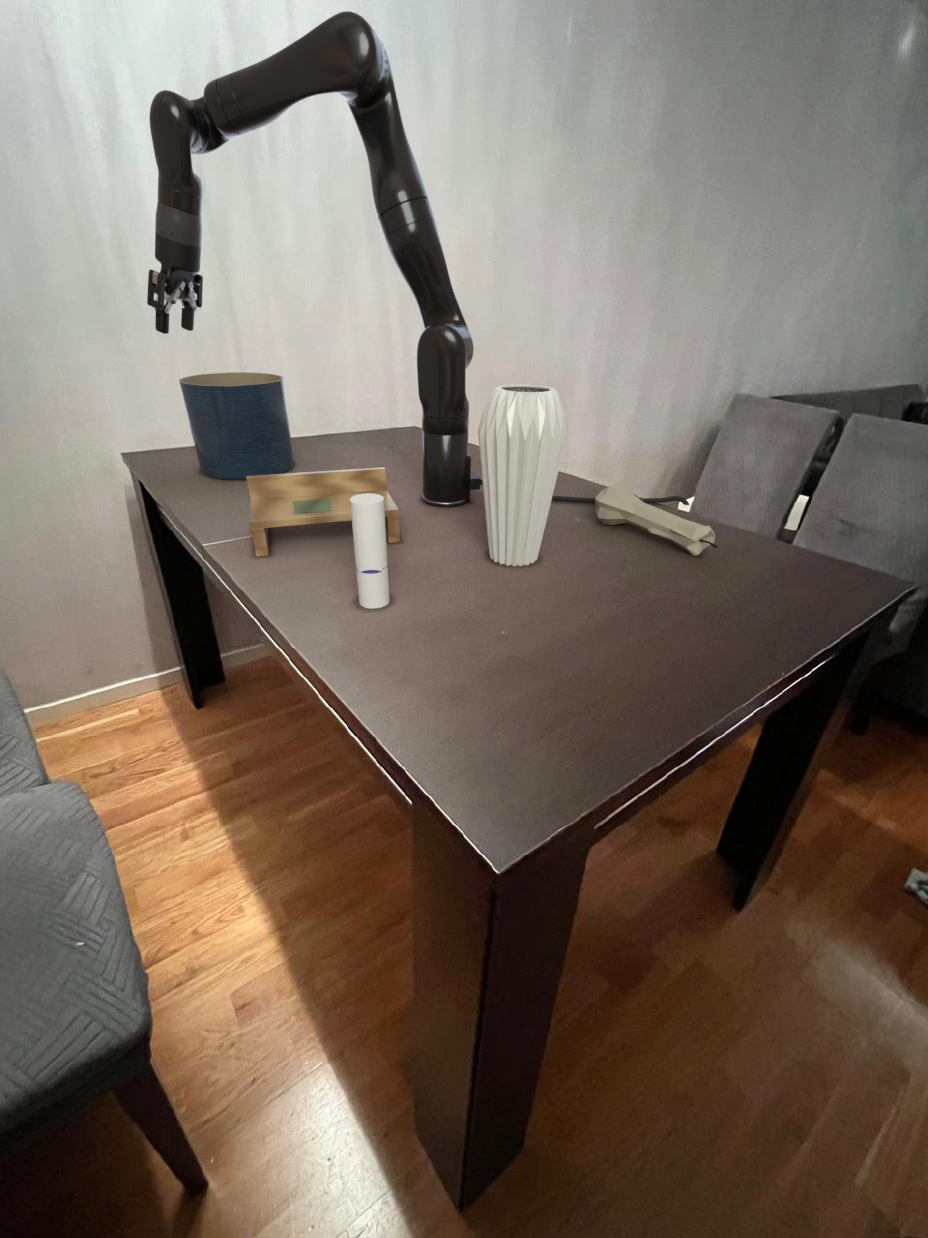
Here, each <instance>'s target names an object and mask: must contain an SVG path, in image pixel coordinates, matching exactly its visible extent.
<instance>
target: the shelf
mask: <svg viewBox="0 0 928 1238" xmlns="http://www.w3.org/2000/svg"><path fill="white" fill-rule="evenodd" d="M386 471H387V469H386V468H385V466H381V467H379V466H378V467H365V468H364V467H363V468H351V469H335V470H319V471H318V470H317V471H303V472H301V471H300V472H287V473H286V472H284V473H281V474H270V475H254V476H247V477H246V483H247V489H248V494H249V500H250V502H249V503H250V504H249V505H250V507H249V509H250V510H249V527H250V531H251V537H252V541H253V547H254V552H255V557H257V558H259V557H267V556H270V552H269V551H270V545H269V543H270V542H269V529H270V528H280V527H291V526H303V525H315V524H324V523H325V524H326V523H335V522H347V521H348V522H349V521H352V517H351V506H350V498H351V497H352V496H355V495H358V494H365V493H371V494H378V495H381V496H383V497H384V511H385V529H386V541H387V542H388V544H394V543H401V532H400V531H401V529H400V509H399V508H398V506H397V504H396V503H395V501H394V499H393V498H392V496H391V494H390V493H389V492H388V488H387V486H388V485H387V472H386Z"/></svg>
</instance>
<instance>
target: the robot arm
mask: <svg viewBox="0 0 928 1238" xmlns="http://www.w3.org/2000/svg"><path fill="white" fill-rule="evenodd" d="M393 75H394V74H393V70H392V66H391V62H390V58H389V55H388V52H387V49H386V47H385V45H384V44H383V42H382V40H381V38H380V37H379V35H378V34H377V33H376V32H375V30H374V29H373V28H372V25H370V23H369V22H368V20H366V19H365V18H364V17H363V16H361V15H360V14H358V13H357V12H354V11H347V10H346V11H340V12H337V13H336V14H334V15H332V16H330V17H329V18H327V19H326V20H324V21H323V22H321V23H319V24H318V25H316V27H314V28H313V29H311V30H310V31H309V32H307V33H305V34H304V35H303V36H301V37H300V38H298V39H296V40H295V41H293V42H292V43H290V44H289V45H287V46H286V47H284V48H283V49H281V50H279V51H278V52H276V53H274V54H271V55H270V56H268V57H267V58H264V59H262V60H260V61H258V62H256V63H253V64H251V65H249V66H246V67H243V68H241V69H239V70H235V71H232V72H230V73H228V74H225V75H222V76H220V77H217V78H215V79H212V80H211V81H209V82H208V83H206V84H205V87H204V89H203V95H202V96H201V97H199V98H196V99H189V98H186V97H184V96H182V95H180V94H179V93H177V92H175V91H172V90H167V89H163V90H160V91H159V92H157V93H156V94H155V96H154V97H153V99H152V100H151V101H152V102H151V104H150V108H149V127H150V128H149V129H150V135H151V136H150V137H151V142H152V148H153V151H154V152H153V153H154V159H155V162H156V163H155V164H156V167H157V173H158V176H157V203H156V204H157V205H156V210H155V223H154V224H155V227H154V228H155V230H154V232H155V233H154V258H155V260H156V261H157V262H159V263H160V266H161V267H160V271H156V270H154V269H152V268H151V269H149V270H148V275H147V276H148V278H147V279H148V280H147V297H146V299H147V300H146V303H147V305H148V306H149V307H152V308H153V309H154V311H155V320H154V321H155V323H154V325H155V330H156V331H157V332H158V333H161V334H163V335H166V334H169V333H170V332H169V331H170V311H171V308H172V306H173V305H176V304H177V302H178V300H179V301H180V302H181V306H182V308H181V319H180V327H181V329H184V330H186V331H188V332H189V331H190V332H191V331H192V332H193V330H194V327H195V326H194V324H195V312H197V310H198V308H200V309H201V308H202V306H203V287H204V285H203V284H204V277H203V275H201V274H199V272H200V270H201V258H202V257H201V256H202V243H203V242H202V239H203V222H202V215H203V213H202V211H203V195H204V186H203V182H202V179H201V178H200V177H199V176H198V174H196V173H195V172H194V168H193V162H192V159H193V158H192V155H198V156H200V155H206V154H209V153H212V152H214V151H216V150H217V149H219V148H221V147H222V146H224V145H225V144H226V143H228V142H229V141H231V139H233V138H234V137H238V136H242V135H245V134H248V133H252V132H254V131H257V130H259V129H262V128H264V127H266V126H268V125H271V124H273V122H275V121H276V120H278V119H279V118H280V117H281V116H282V115H284V114H285V113H286V112H287V111H288V110H289V109H291V108H292V107H293V106H294V105H296V104H298V103H299V102H301V101H303V100H305V99H308V98H312V97H315V96H319V95H325V94H333V93H334V94H335V93H338V94H339V95H340V96H341V97H342V98H343V99H344V100H345V101H346V104H347V106H348V107H349V110H350V112H351V115H352V117H353V119H354V121H355V124H356V127H357V130H358V132H359V134H360V137H361V140H362V143H363V146H364V150H365V153H366V158H367V163H368V170H369V179H370V180H369V182H370V189H371V195H372V202H373V206H374V210H375V214H376V217H377V220H378V223H379V226H380V229H381V233H382V235H383V239H384V242H385V244H386V247H387V249H388V251H389V254H390V256H391V258H392V260H393V262H394V264H395V266H396V268H397V269H398V271H399V273H400V275H401V276H402V278H403V280H404V281H405V283H406V285H407V286H408V288H409V290H410V292H411V293H412V296H413V297H414V300H415V302H416V304H417V307H418V310H419V313H420V317H421V320H422V324H423V328H424V330H423V331H422V332H421V334H420V336H419V338H418V341H417V347H416V376H417V377H416V378H417V392H418V399H419V403H420V405H421V430H422V431H421V432H422V434H421V435H422V436H421V437H422V438H421V439H422V488H423V489H422V493H423V494H422V500H423V502H425V503H426V504H429V505H432V506H438V507H454V506H459V505H462V504H465V503H470V502H471V491H476V490H477V491H478V490H481V486H483V482H482V477H480V476H479V475H477V474H476V473H475V472H474V471H472V456H471V455H470V454H469V425H470V424H469V423H470V401H469V399H468V396H467V391H466V370H467V369H468V367H469V366H470V364H471V363H472V360H473V357H474V351H475V346H474V340H473V337H472V334H471V332H470V329H469V327H468V324H467V322H466V319H465V317H464V314H463V312H462V310H461V307H460V305H459V302H458V299H457V296H456V293H455V291H454V288H453V285H452V281H451V277H450V274H449V269H448V264H447V261H446V257H445V256H446V255H445V253H444V249H443V246H442V242H441V237H440V234H439V230H438V227H437V226H438V225H437V222H436V219H435V215H434V212H433V209H432V206H431V202H430V199H429V196H428V193H427V189H426V187H425V184H424V181H423V178H422V175H421V173H420V169H419V166H418V163H417V160H416V158H415V155H414V152H413V150H412V148H411V145H410V143H409V138H408V136H407V133H406V130H405V125H404V122H403V118H402V114H401V108H400V105H399V100H398V95H397V90H396V85H395V81H394V76H393ZM155 295H156V297H155ZM595 498H596V497H594V498H593V497H577V496H576V497H575V496H564V495H553V496H552V500H551V501H555V502H556V501H557V502H569V503H586V504H595ZM639 499H640V500H641V501H642V502H644V503H646V504H665V503H670V502H680V503H682V505H684V506H690V503H689V501H688V500H687V499H686V498H684V497H683V496H679V495H673V496H667V497H647V498H646V497H644V498H639ZM642 499H643V500H642Z"/></svg>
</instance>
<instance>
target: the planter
mask: <svg viewBox="0 0 928 1238" xmlns="http://www.w3.org/2000/svg"><path fill="white" fill-rule="evenodd" d="M178 383H179V388H180V392H181V396H182V401H183V404H184V405H183V406H184V409H185V413H186V417H187V421H188V426H189V428H190V429H189V430H190V433H191V437H192V439H193V444H194V447H195V452H196V454H197V459H198V463H199V467H200V471H201V473H202V474H203V475H204V476H207V477H210V478H213V479H217V480H229V481H232V480H233V481H243V480H246V481H247V479H246V477H247V476H254V475H270V474H285V473H286V472H288V471H290V470H291V469H292V468H293V467H294V456H293V448H292V447H293V446H292V438H291V430H290V429H291V428H290V427H291V426H290V419H289V409H288V403H287V402H288V400H287V395H286V394H287V393H286V385H285V379H284V376H282V375H279V374H275V373H274V374H273V373H265V372H248V371H247V372H239V371H238V372H213V373H201V374H194V375H188V376H184V377H181V378H179V379H178Z"/></svg>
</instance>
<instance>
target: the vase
mask: <svg viewBox="0 0 928 1238" xmlns="http://www.w3.org/2000/svg"><path fill="white" fill-rule="evenodd" d="M567 424H568V423H567V417H566V410H565V407H564V404H563V402H562V399H561V397H560V395H559V392H558V390H557V388H555V387H550V386H547V385H542V384H541V385H539V384H538V385H537V384H526V383H523V384H522V383H521V384H518V383H515V384H501V385H498V386H497V385H496V386H495V387H494V388H493V390H492V391H491V394H489V397H488V398H487V401H486V402H485V404H484V406H483V409H482V413H481V417H480V420H479V424H478V427H477V435H478V436H477V437H478V448H479V460H480V469H481V471H480V472H481V480H482V482H483V485H482V491H483V503H484V513H485V514H484V515H485V524H486V536H487V545H488V555H489V557H490V560H493V562H494V563H499V564H498V565H504V566H506V567H508V566H512V567H513V568H515V567H518V566H519V567H523V566H529V565H530V564H535V562H537V561H538V557H539V553H540V549H541V545H542V541H543V537H544V533H545V529H546V525H547V520H548V518H549V517H548V516H549V512H550V507H551V505H552V501H553V500H552V496H554V493H555V492H554V491H555V488H556V484H557V480H558V479H557V478H558V475H559V469H560V468H561V467H560V466H561V462H562V458H563V453H564V449H565V445H566V440H567V437H568V426H567Z"/></svg>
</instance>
